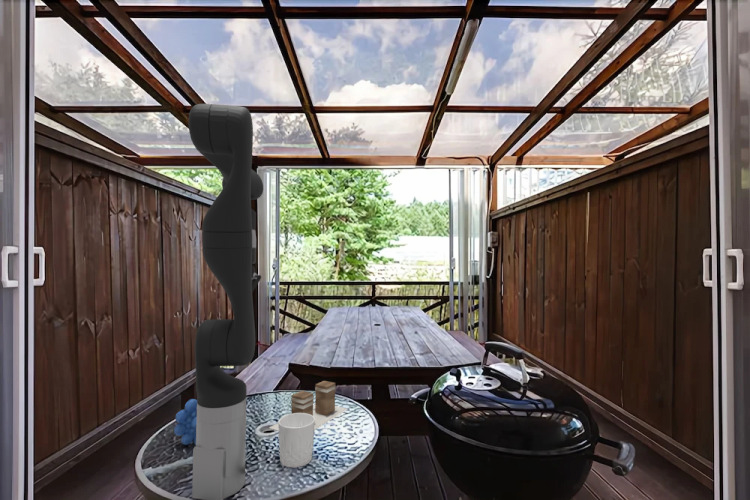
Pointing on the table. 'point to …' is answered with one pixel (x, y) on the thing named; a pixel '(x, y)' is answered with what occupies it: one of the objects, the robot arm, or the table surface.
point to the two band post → (302, 403)
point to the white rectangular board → (319, 417)
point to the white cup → (296, 439)
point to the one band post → (325, 397)
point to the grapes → (187, 422)
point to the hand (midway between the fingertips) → (240, 310)
